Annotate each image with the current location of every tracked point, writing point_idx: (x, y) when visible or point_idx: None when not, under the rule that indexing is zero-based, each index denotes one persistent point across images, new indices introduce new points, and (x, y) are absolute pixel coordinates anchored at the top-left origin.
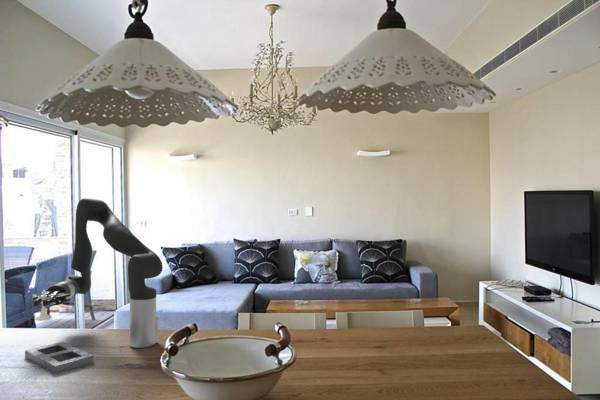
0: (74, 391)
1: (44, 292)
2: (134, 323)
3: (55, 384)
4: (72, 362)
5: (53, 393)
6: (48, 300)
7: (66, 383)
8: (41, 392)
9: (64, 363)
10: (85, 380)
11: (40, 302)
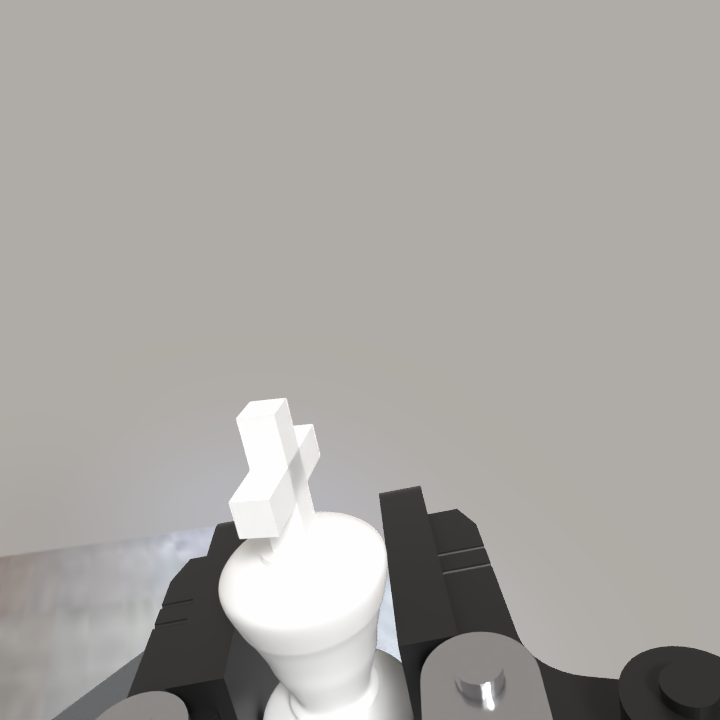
0: (82, 559)
1: (260, 482)
2: None
3: (158, 590)
4: (69, 714)
5: (154, 539)
6: (177, 582)
7: (113, 602)
8: (198, 538)
9: (115, 673)
10: (30, 635)
11: (395, 658)
